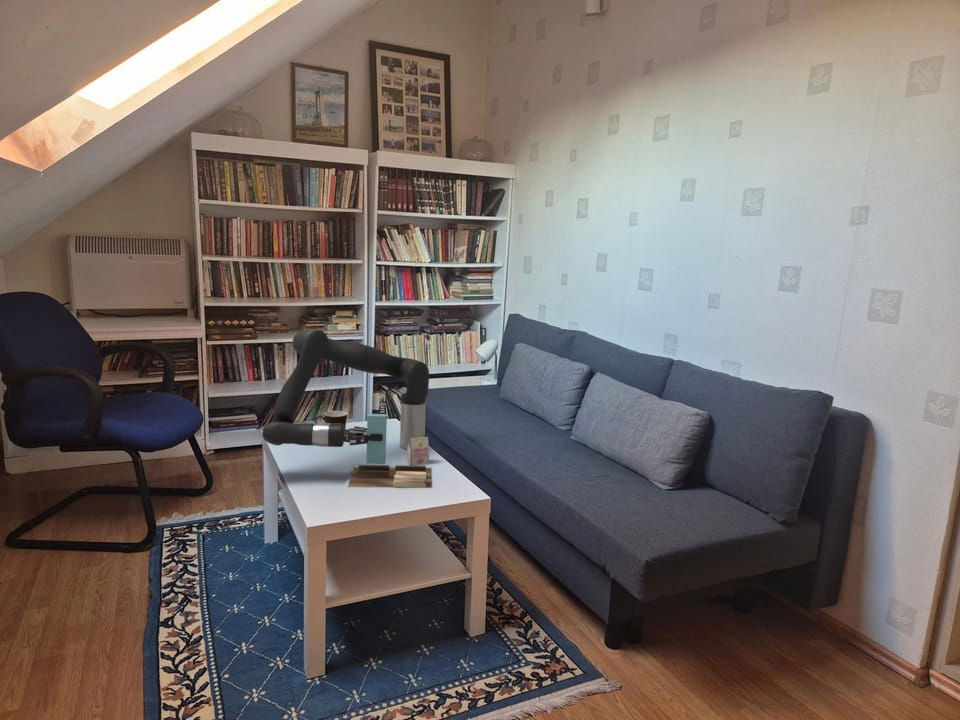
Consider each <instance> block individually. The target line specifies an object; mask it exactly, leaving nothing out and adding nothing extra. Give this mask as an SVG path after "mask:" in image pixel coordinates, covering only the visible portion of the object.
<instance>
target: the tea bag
mask: <svg viewBox="0 0 960 720" xmlns="http://www.w3.org/2000/svg"><path fill="white" fill-rule="evenodd" d="M406 463H407V464H408V465H413V466H419V465H424V464H425V465H427V464H429V463H430V445H429V437H428V436H425V437H420V438H409V443H408V447H407V449H406Z"/></svg>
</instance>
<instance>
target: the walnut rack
mask: <svg viewBox="0 0 960 720" xmlns="http://www.w3.org/2000/svg"><path fill="white" fill-rule="evenodd" d="M396 471H407V472H426V487H393V484H394V475H395V474H396ZM432 472H433V471H432V467H427V466H426V465H410V464H408V465H405V464H404V465H401V464H395V466H390V464H389V465H388V464H358V466H353V469H352V471H351V475H350V478H349V481H348V485H347V488H393V489H395V488H401V489H402V488H407V489H409V488H415V489H416V488H417V489H419V488H421V489H422V488H423V489H425V488H426V489H429V488H431V489H432V488H433V479H432V475H433V474H432Z"/></svg>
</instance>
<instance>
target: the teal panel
mask: <svg viewBox="0 0 960 720" xmlns="http://www.w3.org/2000/svg"><path fill="white" fill-rule="evenodd" d="M366 419H367V420H366V421H367V422H366V424H367V425H366V428H367V433H369V434H382V435H383V440H382V441H370V442H368V443H367V444H366V462H365V463H366V464H365V465H386V463H387V462H386V459H387V458H386V457H387V453H386V452H387V428H388V427H387V424H388V423H387V422H388V421H387V419H388V415H387V413H386V414H384V413H383V414H382V413H381V414H380V413H368V414H367V418H366Z"/></svg>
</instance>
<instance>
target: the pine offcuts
mask: <svg viewBox="0 0 960 720" xmlns="http://www.w3.org/2000/svg"><path fill="white" fill-rule="evenodd" d="M394 487H426V472H407V471H396V474H395V475H394V484H393V487H392V488H394Z"/></svg>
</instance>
